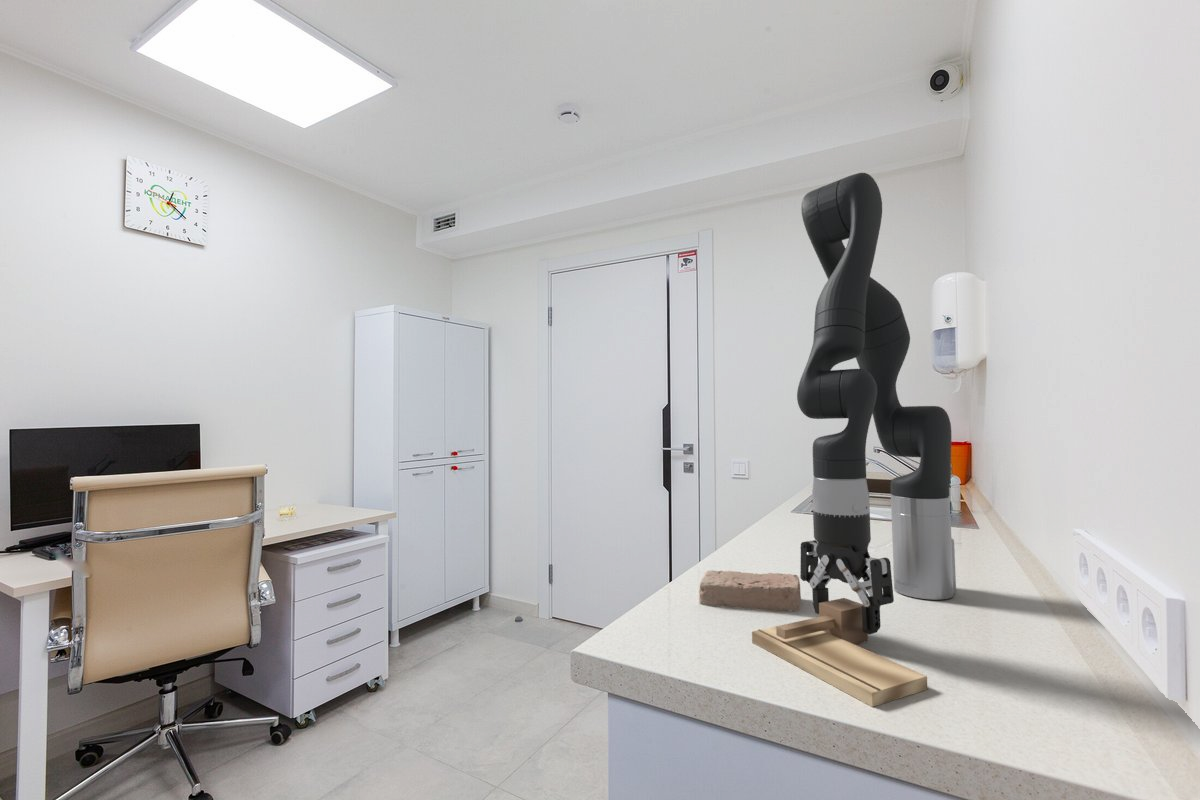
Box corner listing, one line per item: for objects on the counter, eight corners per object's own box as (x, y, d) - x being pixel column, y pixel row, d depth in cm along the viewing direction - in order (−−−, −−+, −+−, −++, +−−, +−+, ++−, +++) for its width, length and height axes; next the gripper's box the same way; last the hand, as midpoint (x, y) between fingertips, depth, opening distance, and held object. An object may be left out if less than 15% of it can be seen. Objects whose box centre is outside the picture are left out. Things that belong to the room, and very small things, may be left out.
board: (800, 631, 84) (800, 620, 84) (927, 689, 66) (927, 675, 66) (752, 642, 80) (751, 630, 80) (872, 706, 62) (871, 692, 62)
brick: (698, 606, 96) (698, 579, 97) (705, 592, 104) (705, 566, 105) (801, 616, 91) (800, 587, 91) (800, 600, 99) (799, 573, 99)
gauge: (850, 630, 84) (849, 596, 84) (873, 640, 80) (871, 604, 80) (770, 649, 78) (769, 613, 78) (792, 661, 74) (790, 622, 74)
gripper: (903, 513, 76) (908, 634, 76) (821, 500, 89) (825, 604, 89) (863, 518, 73) (868, 645, 73) (785, 504, 86) (788, 612, 86)
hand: (845, 622), depth 81 cm, fingers open, 8 cm apart
